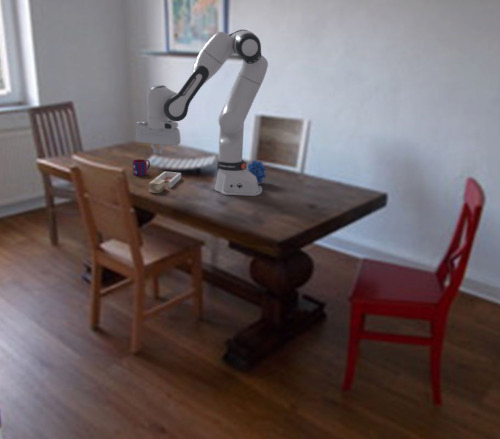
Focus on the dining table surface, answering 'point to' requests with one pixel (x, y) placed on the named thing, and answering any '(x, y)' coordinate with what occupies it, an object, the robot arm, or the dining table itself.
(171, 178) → the white u-shaped frame
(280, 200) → the dining table surface
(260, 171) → the grapes
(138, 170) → the mug
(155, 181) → the block
